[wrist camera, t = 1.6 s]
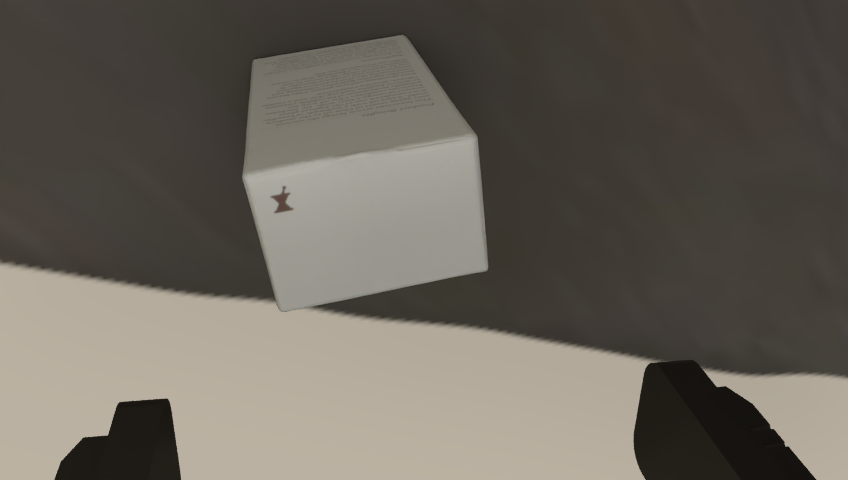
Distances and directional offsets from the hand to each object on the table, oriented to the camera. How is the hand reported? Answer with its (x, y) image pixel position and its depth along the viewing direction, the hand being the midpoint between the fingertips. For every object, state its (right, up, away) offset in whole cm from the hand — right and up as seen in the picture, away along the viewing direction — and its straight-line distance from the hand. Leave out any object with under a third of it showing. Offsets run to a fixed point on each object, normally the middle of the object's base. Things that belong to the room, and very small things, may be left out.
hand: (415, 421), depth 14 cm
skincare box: (-3, +9, +18) cm, 20 cm away
